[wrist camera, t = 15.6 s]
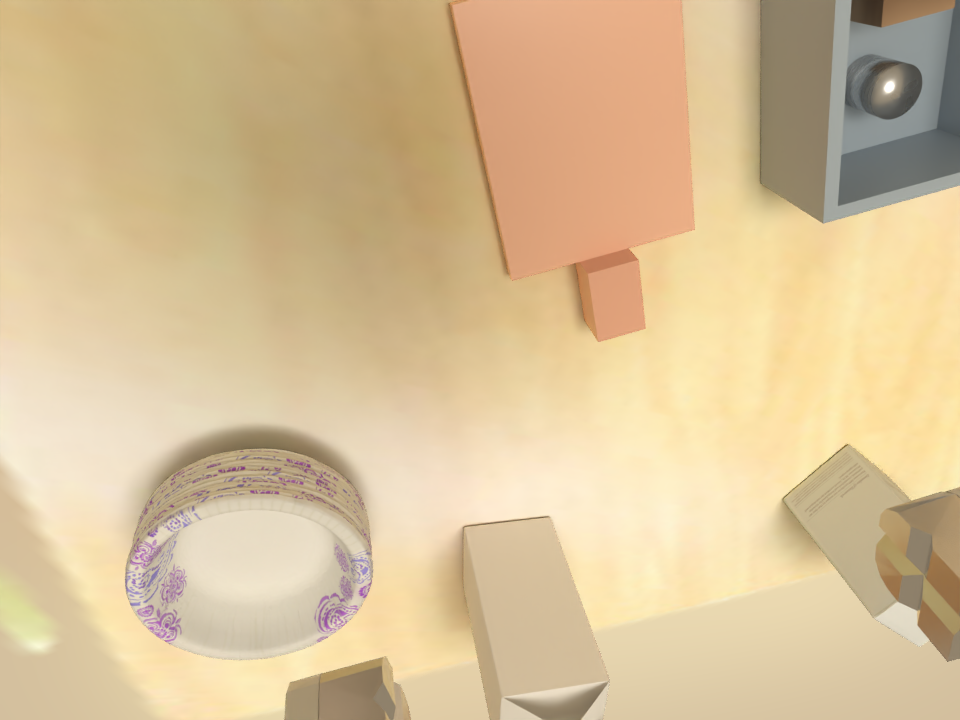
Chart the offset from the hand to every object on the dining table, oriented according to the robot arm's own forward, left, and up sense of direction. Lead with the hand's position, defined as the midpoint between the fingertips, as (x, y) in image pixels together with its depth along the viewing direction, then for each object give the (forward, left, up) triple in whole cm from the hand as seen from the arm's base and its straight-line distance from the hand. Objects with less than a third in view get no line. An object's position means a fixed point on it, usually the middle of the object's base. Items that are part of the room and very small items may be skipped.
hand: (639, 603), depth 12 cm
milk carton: (+36, -2, -34) cm, 50 cm away
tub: (+2, +26, -34) cm, 43 cm away
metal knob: (+5, +26, -33) cm, 42 cm away
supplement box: (+40, +27, -34) cm, 59 cm away
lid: (+6, +9, -34) cm, 36 cm away
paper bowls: (+24, -18, -34) cm, 46 cm away
